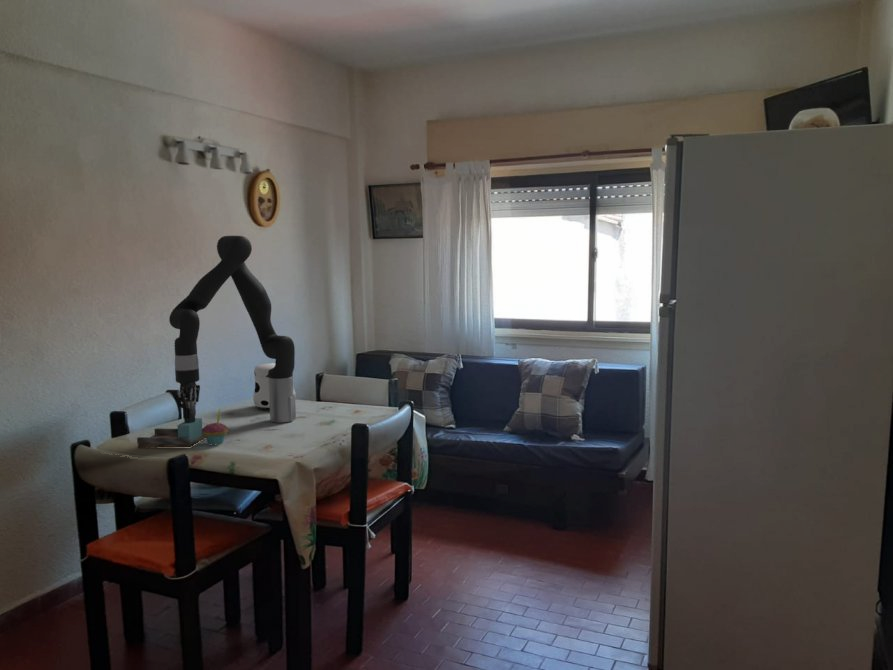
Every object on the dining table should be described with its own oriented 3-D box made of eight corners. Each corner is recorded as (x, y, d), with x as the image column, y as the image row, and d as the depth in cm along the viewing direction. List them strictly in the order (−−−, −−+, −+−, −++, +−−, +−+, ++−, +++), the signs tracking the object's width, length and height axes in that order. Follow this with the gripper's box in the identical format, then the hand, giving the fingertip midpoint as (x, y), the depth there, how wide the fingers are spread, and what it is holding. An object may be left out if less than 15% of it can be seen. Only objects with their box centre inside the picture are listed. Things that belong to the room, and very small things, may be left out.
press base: (206, 438, 232) (205, 428, 231) (190, 448, 219) (189, 438, 219) (156, 438, 233) (155, 428, 233) (137, 448, 220) (137, 438, 220)
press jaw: (202, 435, 230) (200, 398, 229) (190, 442, 220) (187, 404, 219) (191, 434, 231) (189, 398, 229) (178, 442, 221) (176, 404, 219)
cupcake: (230, 439, 230) (228, 406, 229) (226, 446, 222) (224, 411, 220) (204, 441, 229) (202, 407, 227) (199, 447, 220) (198, 412, 219)
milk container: (291, 412, 271) (289, 368, 269) (248, 412, 271) (246, 369, 269) (299, 402, 288) (298, 362, 286) (260, 403, 288) (258, 362, 286)
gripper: (188, 371, 215) (191, 422, 217) (206, 364, 230) (209, 412, 232) (166, 371, 216) (169, 422, 218) (185, 364, 230) (188, 412, 232)
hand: (189, 417), depth 225 cm, fingers closed on press jaw, 3 cm apart
